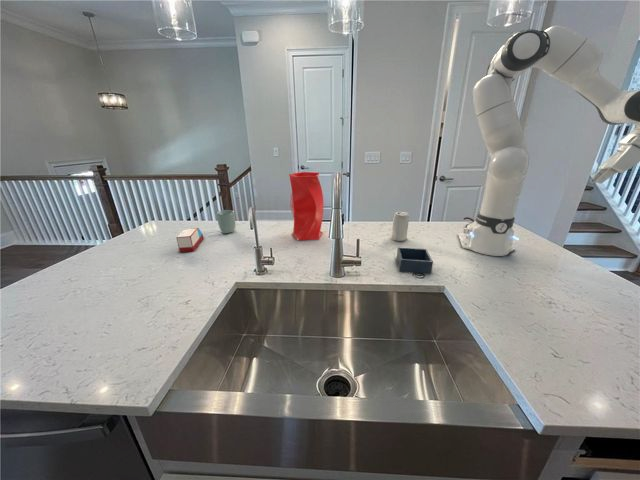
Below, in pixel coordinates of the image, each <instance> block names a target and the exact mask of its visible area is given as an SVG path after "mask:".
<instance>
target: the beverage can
mask: <svg viewBox="0 0 640 480" xmlns="http://www.w3.org/2000/svg"><path fill="white" fill-rule="evenodd" d="M409 215H410V214H409V213H408V212H406V211H395V212H394V215H393V218H392V228H391V229H392V230H391V239H392V240H394V241H396V242H405V240H407V237H408V228H409V222H410V216H409Z"/></svg>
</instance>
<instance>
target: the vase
mask: <svg viewBox="0 0 640 480" xmlns="http://www.w3.org/2000/svg"><path fill="white" fill-rule="evenodd" d="M320 175H321V172H312V171H301V172H293V173H289V174H288V176H289V181H290V187H291V194H290V201H289V202H290V203H289V205H290V211H291V213H292V216H293V231H292V235H293V237H294V238H295V239H296V240H297V241H316V240H317V241H318V240H319V239H320V237H321V235H322V233H323V232H322V230H321V229H322V223H323V217H324V193H323V189H322V184H321V182H320V179H319V176H320Z"/></svg>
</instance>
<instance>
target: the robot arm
mask: <svg viewBox="0 0 640 480" xmlns="http://www.w3.org/2000/svg"><path fill="white" fill-rule="evenodd" d="M603 55H604V52H603V50H602V49H601V48H600V46H599V45H598V44H597V43H596V42H595V41H593V40H592V39H590V38H589V37H587V36H585V35H584V34H582V33H580V32H578V31H576V30H574V29H572V28H570V27H566V26H563V25H559V24H558V25H556V24H555V25H552V26H550V27H548V28H547V29H545V30H537V29H531V28H530V29H529V28H528V29H523V30H520V31H519V32H517V33H515V34H513V35H512V36H511V37H509V38H508V40H507V41H506V42H505V43H504V45H502V46H501V47H500V48H499V49H498V50H497V52H496V53H495V55H494V56H493V57H492V59H491V60H490V62H489V64H488V66H487V69H486V73H485V76H484V77H482V78H481V79H479V80H478V81H477V82H476V83H475V84H474V86H473V89H472V101H473V102H472V103H473V109H474V113H475V117H476V120H477V121H476V122H477V124H478V128H479V130H480V135H481V137H482V140H483V143H484V145H485V147H486V150H487V153H488V155H489V158H490V161H489V164H488V169H487V174H486V178H485V179H486V180H485V186H484V191H483V197H482V201H481V205H480V209H479V211H477V215H476V218H475V220H474V219H473V218H472V217H468V216H466V217H463V220H470V221H471V223H468V224H465V227H464V228H463V232H461V233H458V239H459V241H460V245H461V247H462V248H463V249H466V250H470V251H473V252H475V253H478V254H482V255H487V256H494V257H503V256H507V255H509V254H510V253H511V252H513V251H514V250H515V247H514V246H513V240H516V241H519V240H520V238H518V237H517V236H515V235H514V234H515V230H514V229H513V227H514V224H515V218H516V217H515V214H516V210H517V207H518V203H519V200H520V197H521V193H522V190H523V186H524V183H525V180H526V177H527V173H528V169H529V167H530V159H531V158H530V153H529V149H528V146H527V142H526V138H525V136H524V132H523V128H522V125H521V122H520V118H519V114H518V110H517V106H516V103H515V100H514V96H513V92H512V83H513V82H514V81H515V80H516V79H517V78H519V77H520V76H522V75H523V74H525V73H526V72H527V71H528V70H529V69H531V68H533V69H538V70H540V71H543V72H544V73H545V74H546V75H548V76H550V77H551V78H552V79H554V80H556V81H557V82H559V83H561V84H562V85H564V86H567V88H570V89H572V90H574V91H575V92H576V93H577V94H578V95H579V96H582V97H583V98H584V99H585V100H586V101H588V102H589V103H590V104H591V105H592V106H594V107H595V109H596V110H597V113H598V115H599V118H600V119H601V121H602V122H603V123H605V124H607V125H611V126H619V125H624V124H632V125H634V126H635V127H634V128H633V129H632V130H631V131H630V132H629V133H627V134H626V135H625V136H624V137H623V138H622V139H621V140H620V141H618V142H617V145H618V146H619V147H617V149H616V152H615V153H613V154H611V156H609V157H608V158H607V159H606V160H604V161H603V162H602V163H601V164H600V165H599V166H598V167H597V169H598V171H597V172H596V173H595V174H594V175H593V177H591V178H590V179H589V182H590V183H591V184H596V183H598V184H603V183H604V182H606V181H607V180H609V179H610V178H611V177H612V178H613V176H615V175H616V174H622V173H625V172H627V171H629V170H630V169H632V168H633V167H634V166H636V165H637V164H639V163H640V88H638V89H633V90H623V89H620V88H618V87H616V86H615V85H614V84H613V83H611V81H608V80H607V79H606V78H605V77H604V76H602V74H601V73H600V66H601V64H602V61H603V57H604V56H603Z"/></svg>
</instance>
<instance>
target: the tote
mask: <svg viewBox="0 0 640 480" xmlns="http://www.w3.org/2000/svg"><path fill="white" fill-rule="evenodd" d="M396 262H397V267H398V270H399V272H400V273H409V274H410V273H411V274H412V273H413V274H424V275H425V274H427V275H431V274H432V271H433V265H434V261H433V259H432V257H431V255H430V253H429V251H428V249H427V248H414V247H413V248H412V247H397V251H396Z"/></svg>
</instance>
